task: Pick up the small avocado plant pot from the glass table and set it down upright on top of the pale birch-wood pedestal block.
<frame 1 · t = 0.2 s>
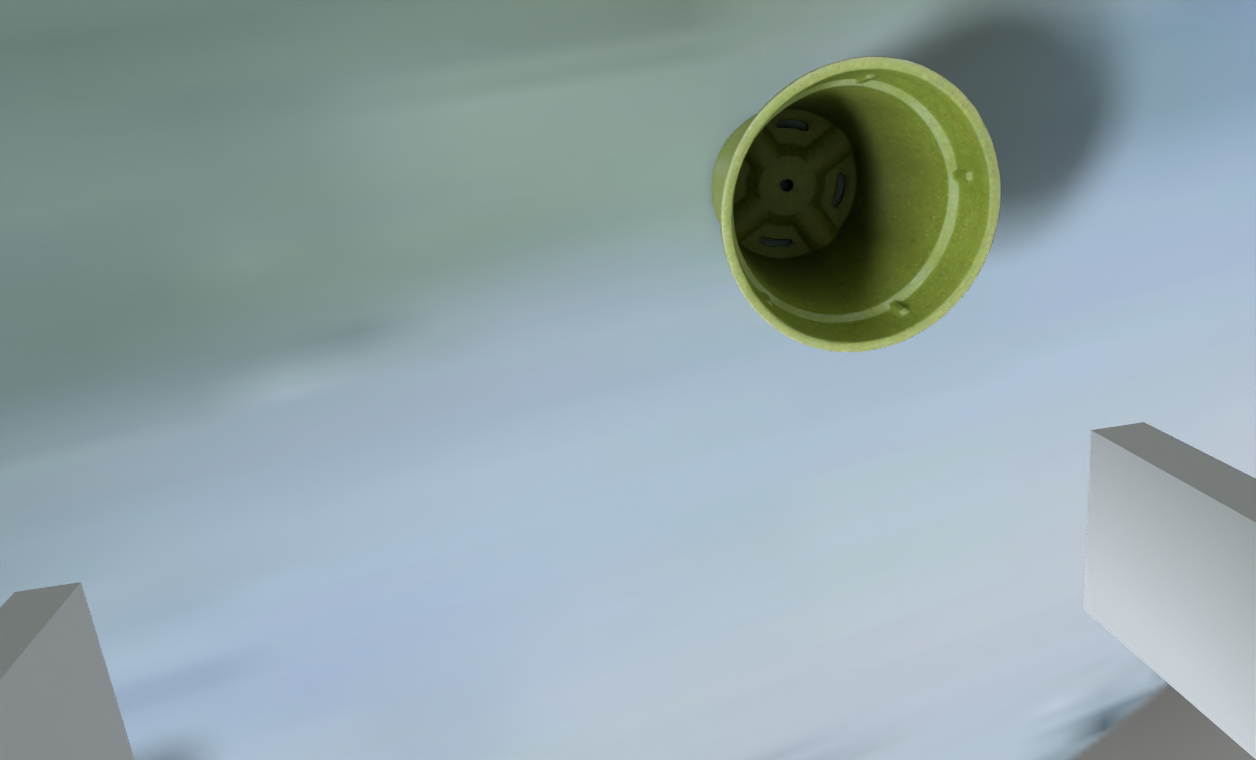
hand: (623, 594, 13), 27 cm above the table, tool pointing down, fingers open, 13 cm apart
plant pot: (784, 183, 39), on the table
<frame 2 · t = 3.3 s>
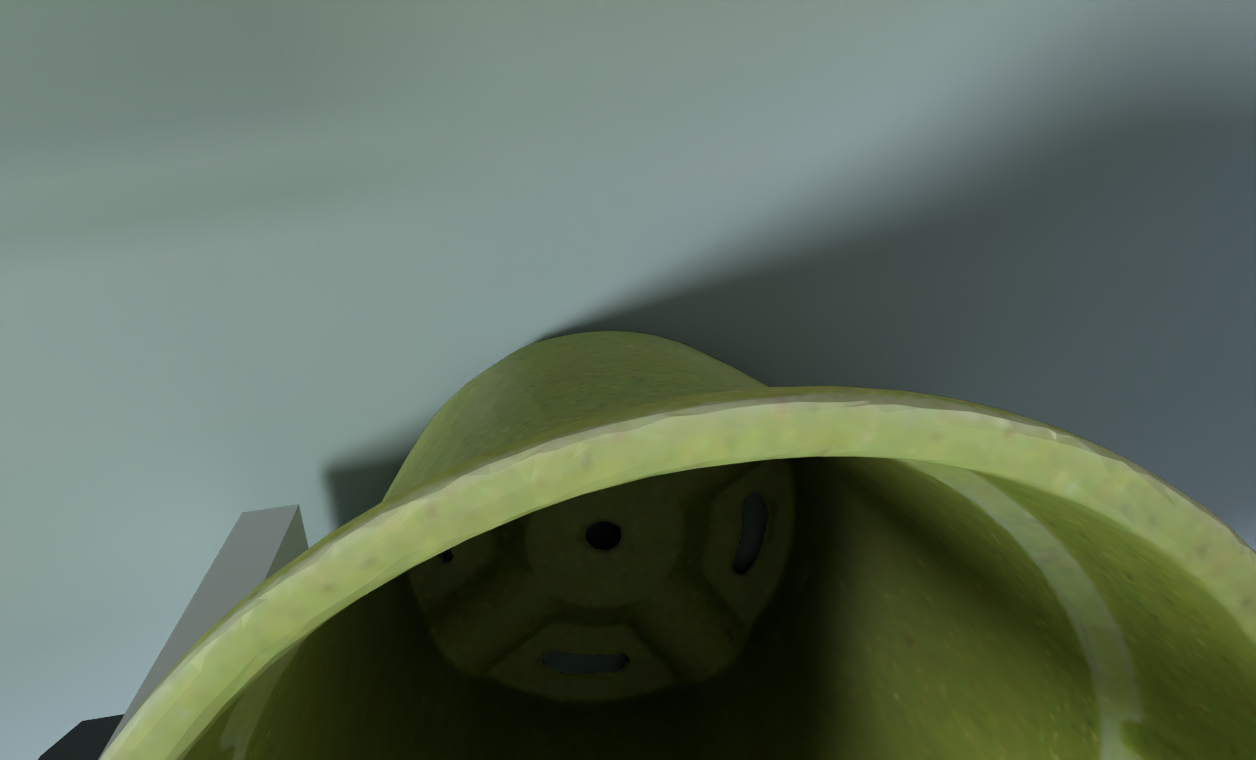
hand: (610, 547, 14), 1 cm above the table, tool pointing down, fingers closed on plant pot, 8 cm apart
plant pot: (605, 515, 15), on the table, touching gripper
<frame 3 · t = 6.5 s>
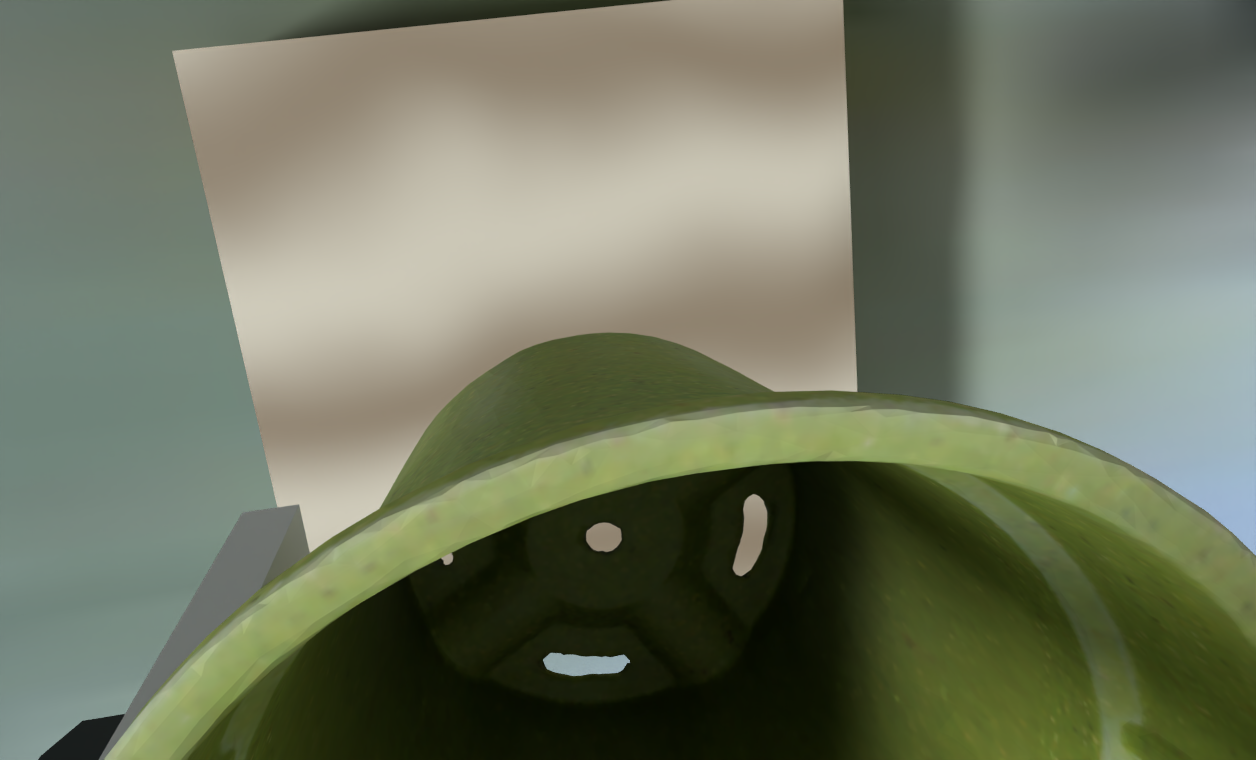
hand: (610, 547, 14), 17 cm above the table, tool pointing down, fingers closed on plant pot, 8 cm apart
plant pot: (605, 517, 15), point 16 cm above the table, touching gripper
birch pedestal block: (549, 300, 30), on the table
when the fingers open (6 cm above the table, at t = 9.7 s): plant pot moves 3 cm, point 5 cm above the table.
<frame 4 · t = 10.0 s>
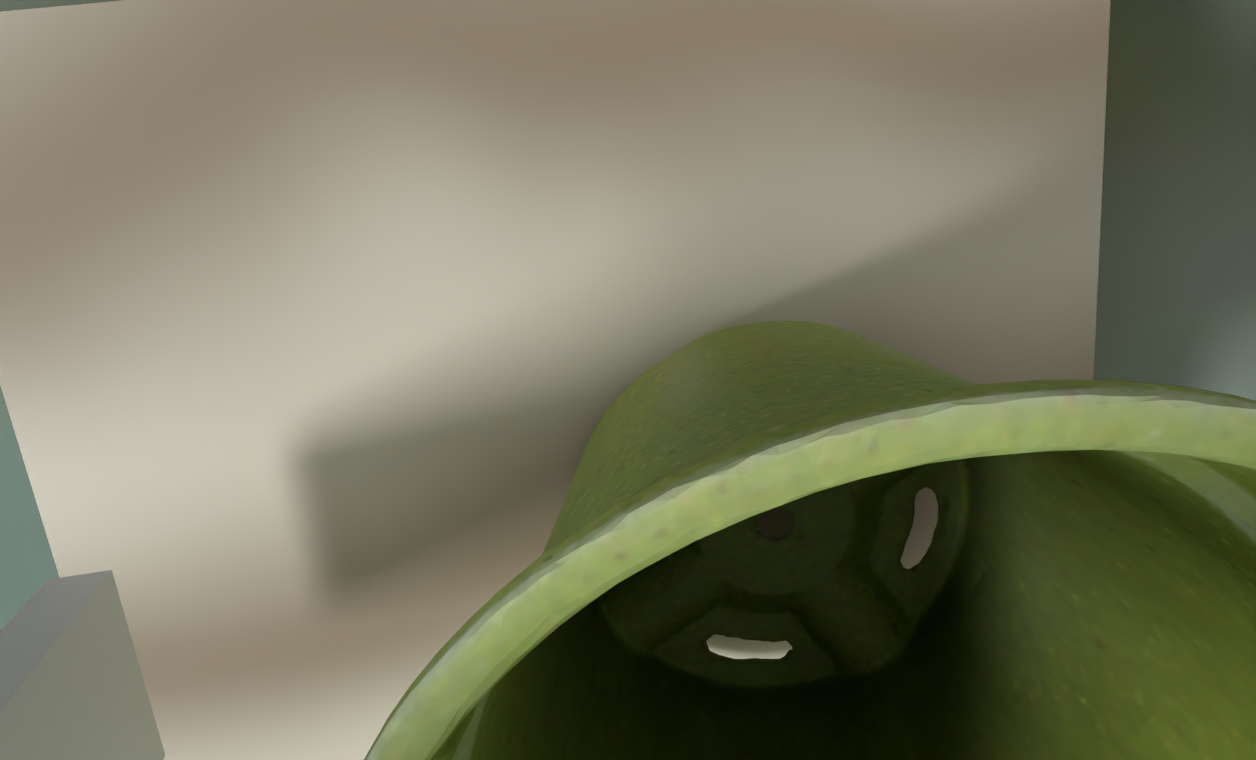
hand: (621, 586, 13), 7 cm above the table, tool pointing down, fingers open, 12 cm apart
plant pot: (773, 503, 15), point 5 cm above the table, touching gripper
birch pedestal block: (578, 416, 20), on the table
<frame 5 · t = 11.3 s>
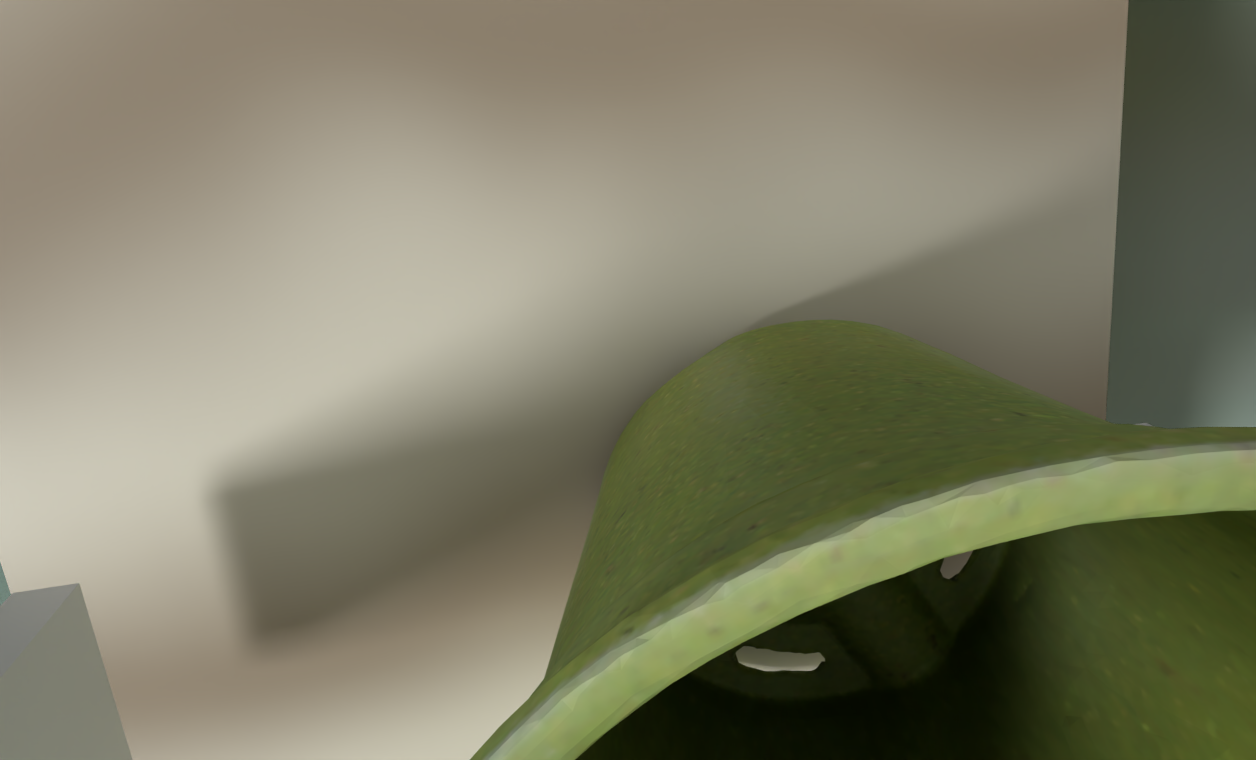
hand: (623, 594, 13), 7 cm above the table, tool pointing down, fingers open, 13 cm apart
plant pot: (807, 510, 14), point 5 cm above the table, touching birch pedestal block, gripper
birch pedestal block: (566, 420, 19), on the table
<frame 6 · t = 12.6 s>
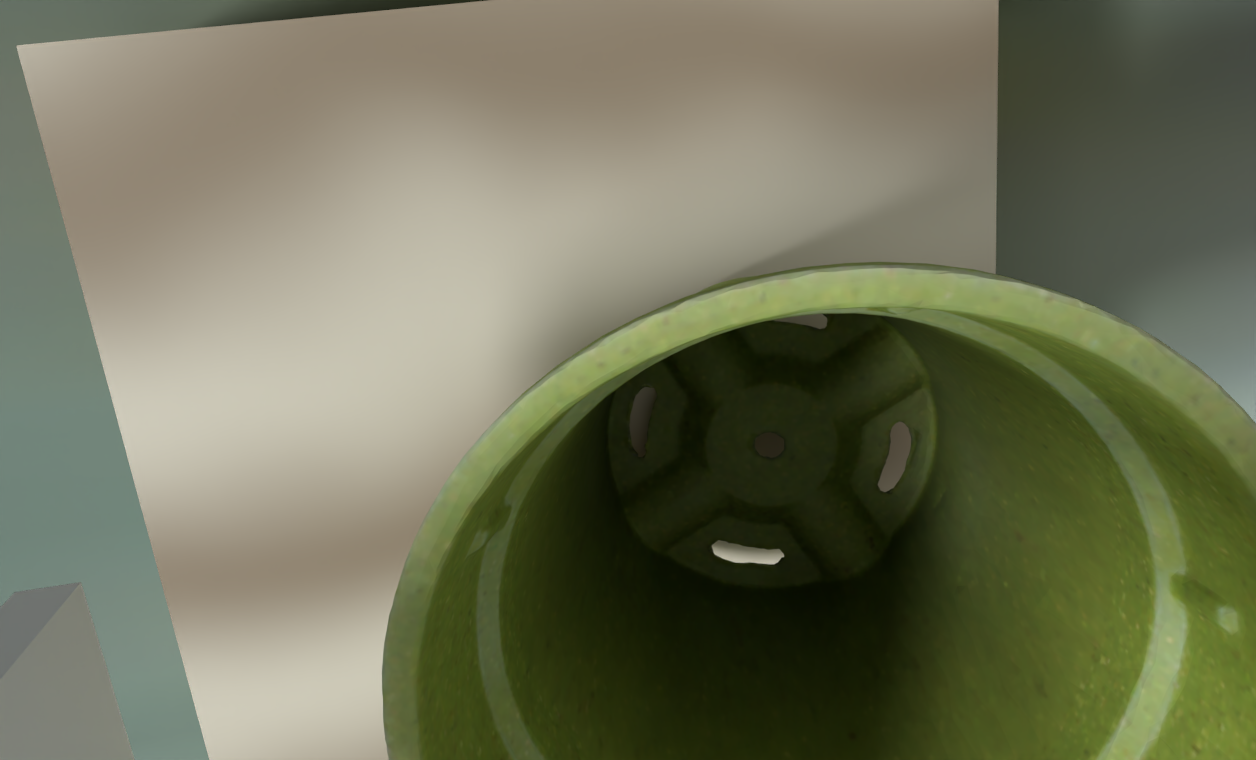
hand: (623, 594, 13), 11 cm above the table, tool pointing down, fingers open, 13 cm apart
plant pot: (772, 432, 18), point 5 cm above the table, touching birch pedestal block
birch pedestal block: (567, 379, 23), on the table
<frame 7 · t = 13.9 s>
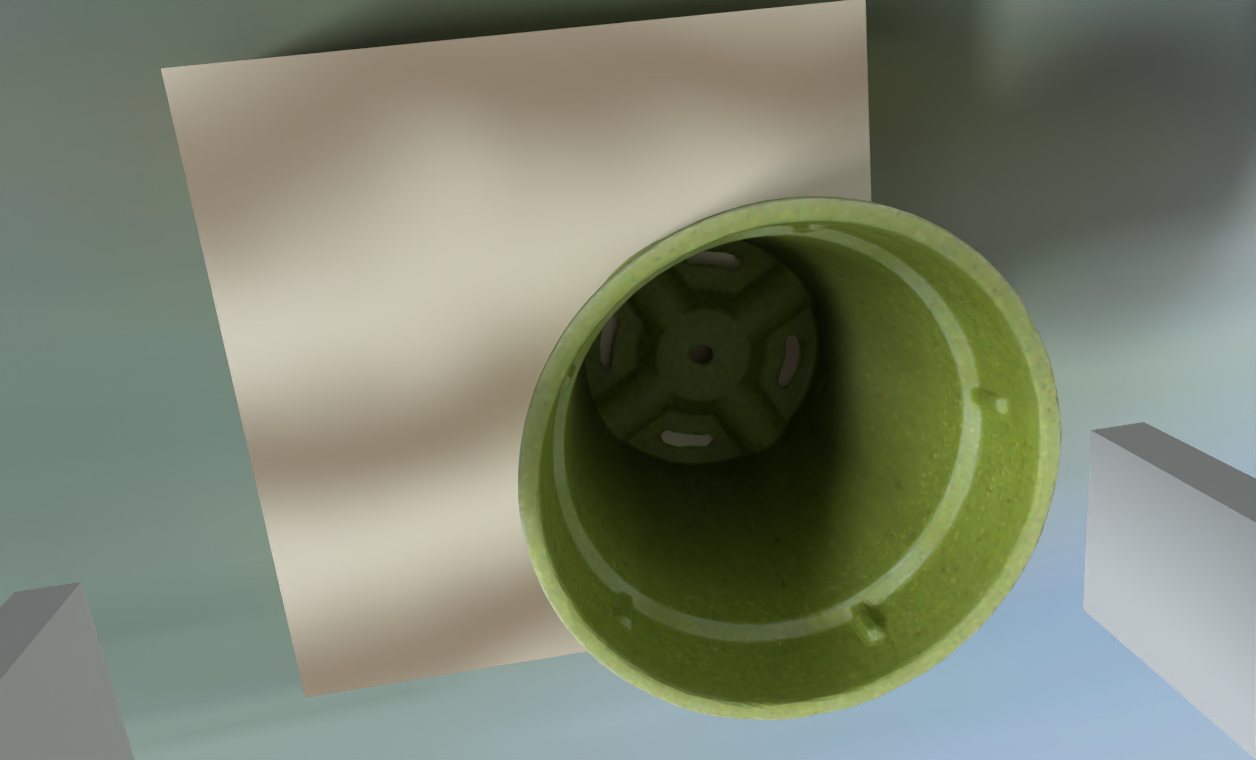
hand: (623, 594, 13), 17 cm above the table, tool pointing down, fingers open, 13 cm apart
plant pot: (701, 348, 25), point 5 cm above the table, touching birch pedestal block
birch pedestal block: (555, 325, 29), on the table
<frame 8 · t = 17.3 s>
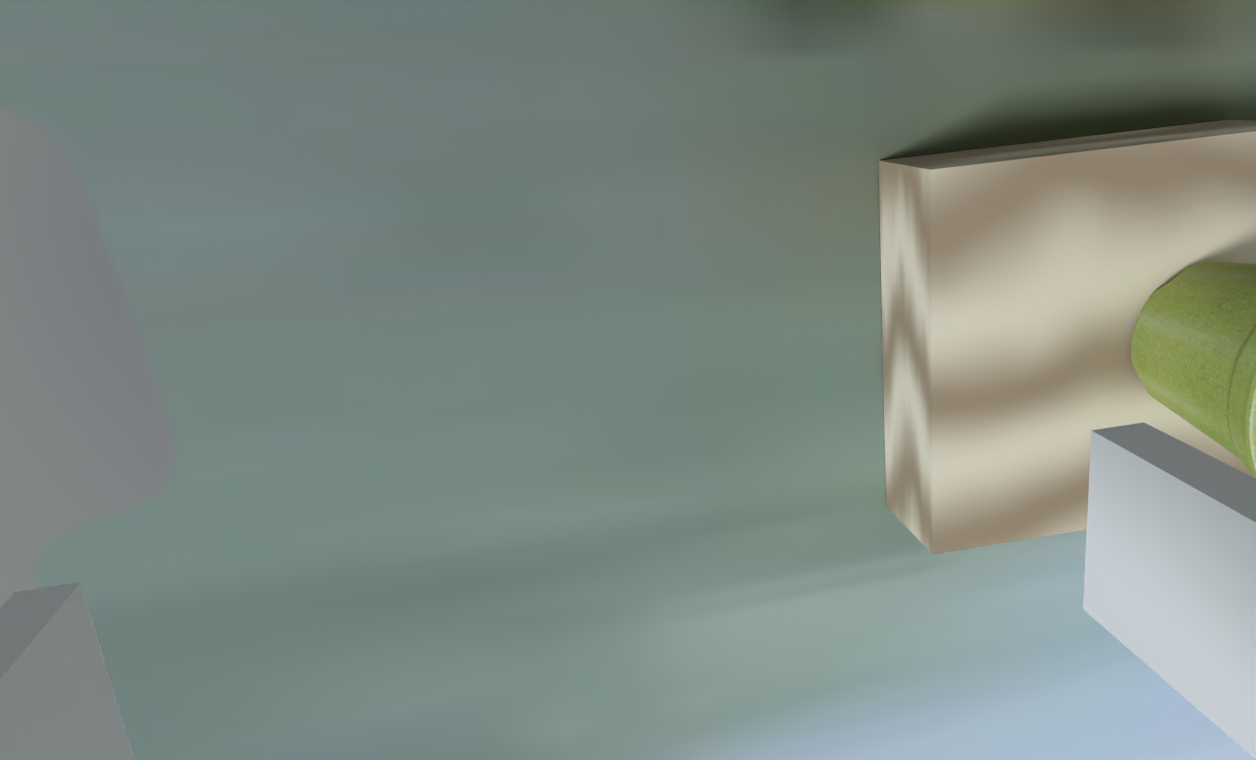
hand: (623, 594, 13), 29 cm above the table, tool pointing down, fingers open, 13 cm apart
plant pot: (1194, 333, 40), point 5 cm above the table, touching birch pedestal block
birch pedestal block: (1051, 319, 44), on the table
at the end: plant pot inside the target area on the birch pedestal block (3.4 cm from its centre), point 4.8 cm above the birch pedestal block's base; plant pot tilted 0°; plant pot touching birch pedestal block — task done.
